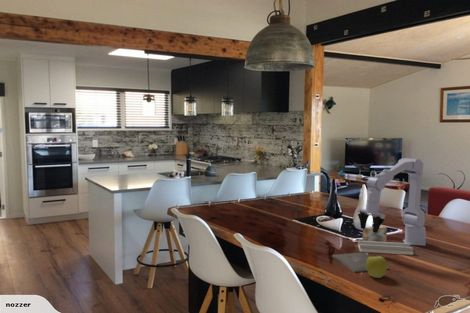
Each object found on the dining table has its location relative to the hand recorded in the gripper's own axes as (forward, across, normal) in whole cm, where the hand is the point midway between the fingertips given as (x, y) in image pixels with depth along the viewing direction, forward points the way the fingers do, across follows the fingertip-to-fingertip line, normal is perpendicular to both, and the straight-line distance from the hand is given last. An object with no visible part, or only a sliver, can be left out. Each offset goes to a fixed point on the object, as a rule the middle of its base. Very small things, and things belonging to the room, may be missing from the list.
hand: (368, 230), depth 195 cm
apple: (+14, +23, -18) cm, 33 cm away
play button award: (+14, +9, -13) cm, 20 cm away
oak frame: (+8, -10, +17) cm, 21 cm away
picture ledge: (+9, +2, +11) cm, 14 cm away
